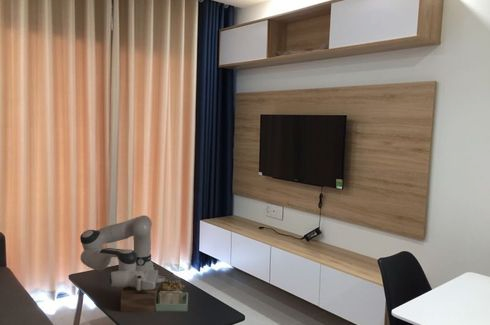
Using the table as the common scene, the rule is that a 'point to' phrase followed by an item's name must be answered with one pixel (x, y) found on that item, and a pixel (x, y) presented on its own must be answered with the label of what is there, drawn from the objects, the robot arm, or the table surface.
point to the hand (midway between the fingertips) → (165, 279)
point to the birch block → (171, 297)
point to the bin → (173, 305)
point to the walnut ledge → (139, 299)
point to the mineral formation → (171, 286)
